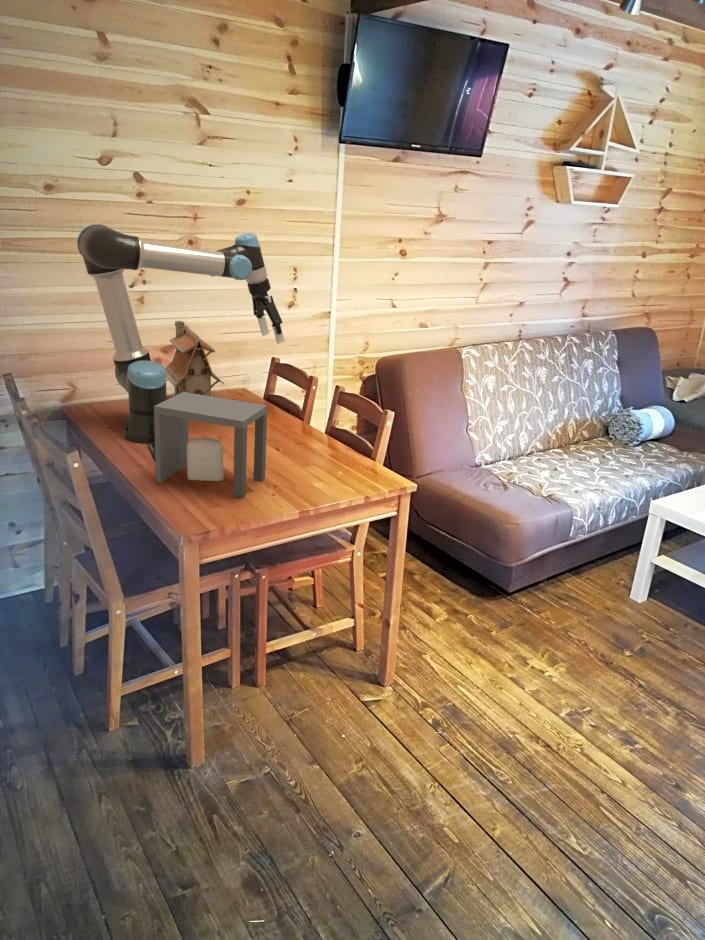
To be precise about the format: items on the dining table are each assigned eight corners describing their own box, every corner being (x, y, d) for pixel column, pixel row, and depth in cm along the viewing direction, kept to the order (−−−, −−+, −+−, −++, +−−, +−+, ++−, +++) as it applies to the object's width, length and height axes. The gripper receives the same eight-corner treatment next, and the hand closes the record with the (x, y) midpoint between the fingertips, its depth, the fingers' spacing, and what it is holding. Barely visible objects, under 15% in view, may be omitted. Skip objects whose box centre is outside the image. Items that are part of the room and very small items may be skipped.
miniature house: (175, 420, 251) (174, 334, 240) (161, 400, 270) (159, 320, 259) (226, 416, 258) (227, 333, 247) (209, 398, 278) (209, 320, 267)
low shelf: (155, 481, 201) (153, 406, 192) (184, 463, 215) (183, 391, 207) (241, 498, 195) (243, 421, 186) (264, 478, 209) (267, 405, 201)
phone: (155, 459, 214) (147, 442, 226) (155, 463, 214) (147, 446, 227) (182, 457, 217) (172, 441, 229) (182, 461, 217) (172, 444, 230)
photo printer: (185, 480, 203) (185, 439, 198) (188, 475, 207) (188, 434, 202) (222, 483, 204) (222, 441, 199) (224, 477, 207) (224, 436, 203)
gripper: (281, 282, 238) (297, 342, 249) (253, 272, 259) (269, 328, 269) (261, 289, 236) (277, 349, 246) (234, 278, 256) (250, 335, 266)
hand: (273, 338), depth 258 cm, fingers open, 13 cm apart
